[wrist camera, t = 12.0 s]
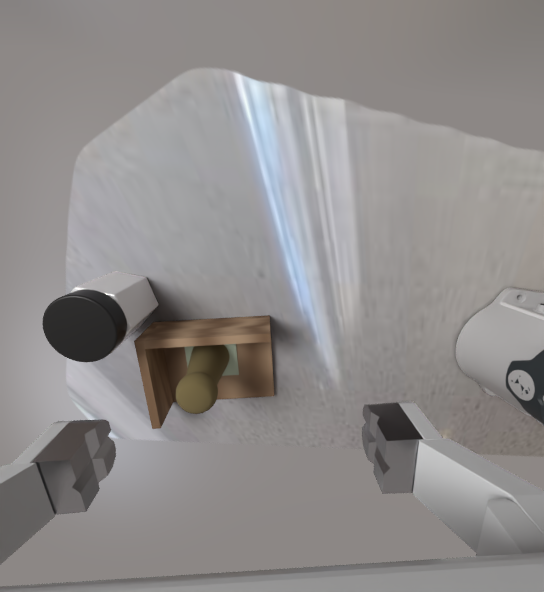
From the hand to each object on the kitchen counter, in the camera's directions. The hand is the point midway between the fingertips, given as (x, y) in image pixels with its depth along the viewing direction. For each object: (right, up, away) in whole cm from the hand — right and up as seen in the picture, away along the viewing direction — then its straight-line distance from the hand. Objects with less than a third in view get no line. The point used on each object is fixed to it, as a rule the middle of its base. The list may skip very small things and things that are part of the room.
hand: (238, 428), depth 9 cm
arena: (-8, -6, +37) cm, 38 cm away
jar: (-20, +4, +34) cm, 40 cm away
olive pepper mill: (-9, -5, +36) cm, 37 cm away
